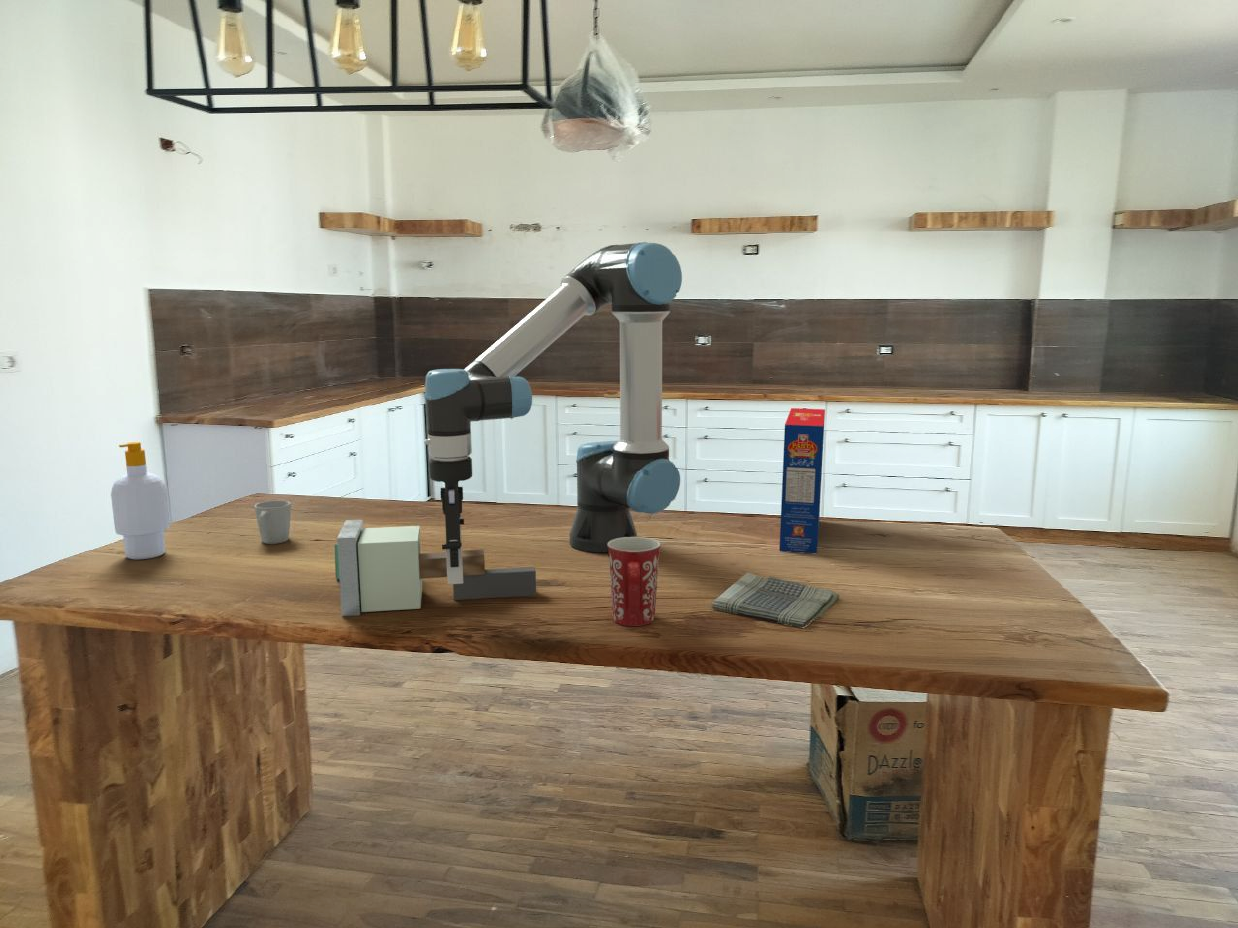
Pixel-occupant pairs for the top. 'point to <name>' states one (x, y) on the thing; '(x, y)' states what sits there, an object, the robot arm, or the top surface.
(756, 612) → the dish towel
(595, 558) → the top surface
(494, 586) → the rubber rail
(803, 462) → the pasta box
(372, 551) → the block
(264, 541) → the cup
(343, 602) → the grey base plate
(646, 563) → the mug
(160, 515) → the soap bottle
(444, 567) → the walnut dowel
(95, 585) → the top surface
